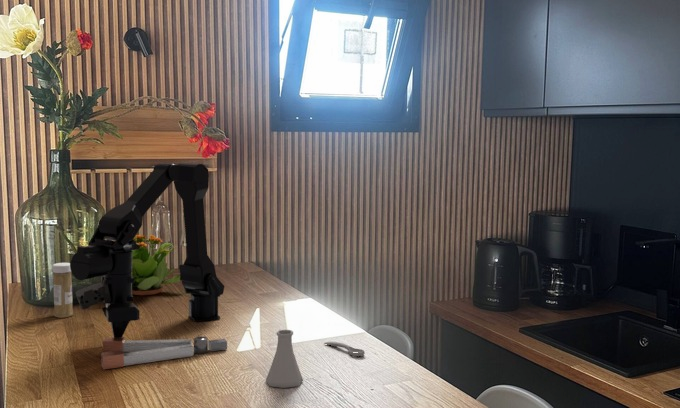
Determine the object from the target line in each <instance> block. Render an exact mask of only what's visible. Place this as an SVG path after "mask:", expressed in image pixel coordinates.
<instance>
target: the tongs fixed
mask: <svg viewBox="0 0 680 408" xmlns="http://www.w3.org/2000/svg"><path fill="white" fill-rule="evenodd" d="M222 350H223V351H225V350H228V341H227V340H226V338H218V339H211V340H208V351H210V352H215V351H216V352H218V351H222ZM189 357H194V345H192V343H191V344H189V345H182V346H175V347H167V348H160V349H152V350H145V351H137V352H122V350H119V351H111V352H104V353H103V352H101V353H100V363H101V364H100V366H101V368H102V369H103V370H110V369H116V368H122V367H125V366H132V365H133V366H134V365H139V364H147V363H153V362H158V361H159V362H160V361H168V360H173V359H180V358H189Z"/></svg>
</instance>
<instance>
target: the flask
mask: <svg viewBox="0 0 680 408" xmlns="http://www.w3.org/2000/svg"><path fill="white" fill-rule="evenodd" d="M293 335H294V331H293V330H291V329H278V330H277V331H276V336H277V344H276V350H275V353H274V357H273V359H272V363H271V366H270V367H269V371H268V374H267V376H266V379H265V382H266V383H267V385H268V386H269V387H274V388H282V389H283V388H284V389H285V388H287V389H288V388H294V387H299V386H300V385H301V384H302V383H303V381H304V379H303V376H302V374H301V370H300V367H299V365H298V362H297V359H296V356H295V353H294V352H295V351H294V349H293V342H292V341H293V340H292V339H293V338H292V337H293Z"/></svg>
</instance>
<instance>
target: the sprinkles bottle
mask: <svg viewBox="0 0 680 408" xmlns="http://www.w3.org/2000/svg"><path fill="white" fill-rule="evenodd" d="M51 268H52V275H53V276H52V277H53V281H52V283H53V304H54V313H53V315H54V317H55V318H58V319H59V318H65V319H66V318H69V317H71V316H73V315H74V311H73V283H72V272H71V269H70V262H57V263H53V264H52V267H51Z"/></svg>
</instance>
